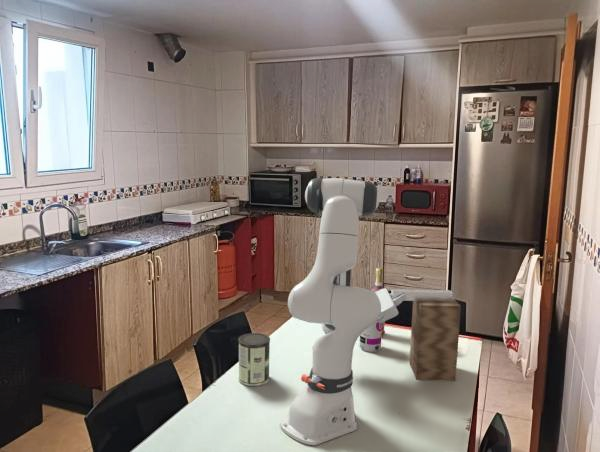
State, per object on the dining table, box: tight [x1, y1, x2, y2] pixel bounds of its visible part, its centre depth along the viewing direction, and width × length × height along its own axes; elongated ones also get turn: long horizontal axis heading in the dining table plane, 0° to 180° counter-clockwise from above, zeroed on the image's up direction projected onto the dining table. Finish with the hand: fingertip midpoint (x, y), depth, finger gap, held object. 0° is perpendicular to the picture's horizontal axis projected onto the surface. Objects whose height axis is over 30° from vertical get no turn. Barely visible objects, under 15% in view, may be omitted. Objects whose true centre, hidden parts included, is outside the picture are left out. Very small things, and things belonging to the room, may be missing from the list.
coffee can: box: [238, 332, 271, 387], centre depth 164 cm, size 10×10×14 cm
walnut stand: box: [409, 297, 462, 382], centre depth 170 cm, size 13×12×26 cm
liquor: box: [369, 267, 386, 336], centre depth 203 cm, size 7×7×28 cm
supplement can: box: [358, 322, 383, 353], centre depth 191 cm, size 8×8×15 cm
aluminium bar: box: [391, 288, 454, 302], centre depth 168 cm, size 20×3×3 cm, turn 89°
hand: (404, 293), depth 168 cm, fingers closed on aluminium bar, 3 cm apart
